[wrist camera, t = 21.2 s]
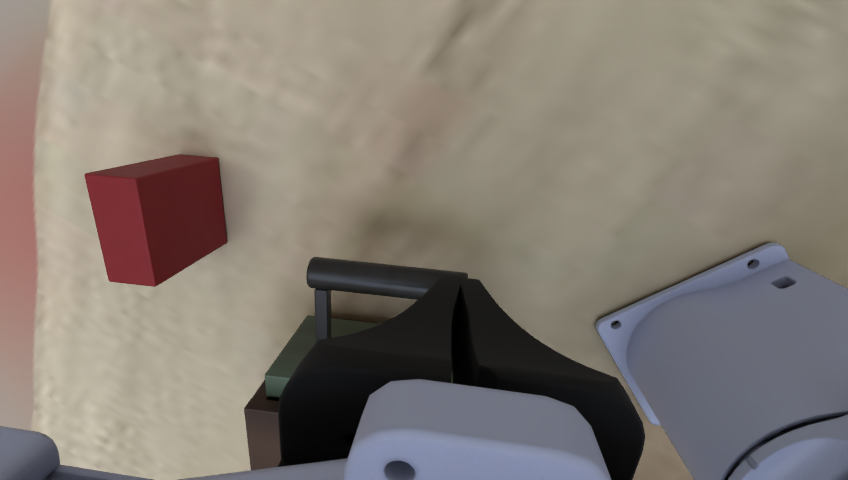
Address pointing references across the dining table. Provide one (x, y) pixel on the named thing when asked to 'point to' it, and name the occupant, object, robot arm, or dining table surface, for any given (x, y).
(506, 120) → the dining table surface
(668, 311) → the robot arm
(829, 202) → the dining table surface
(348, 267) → the drawer
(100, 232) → the card box
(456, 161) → the dining table surface
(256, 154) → the dining table surface
